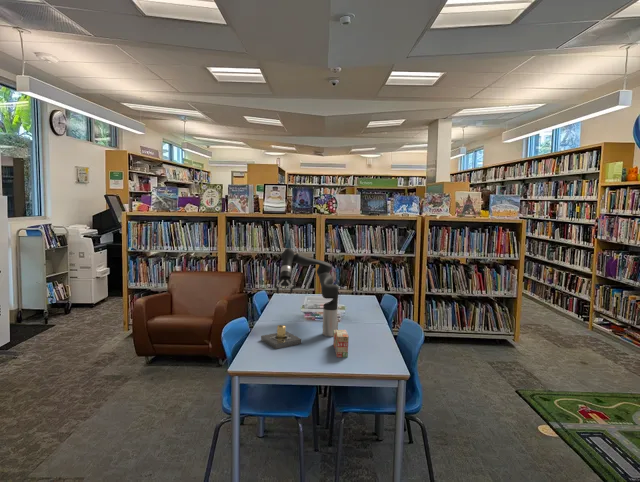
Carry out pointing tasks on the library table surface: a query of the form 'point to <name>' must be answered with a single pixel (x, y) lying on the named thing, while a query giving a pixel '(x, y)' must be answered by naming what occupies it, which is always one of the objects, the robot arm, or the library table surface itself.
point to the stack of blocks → (341, 343)
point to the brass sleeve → (281, 331)
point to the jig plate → (280, 340)
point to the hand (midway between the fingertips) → (284, 293)
